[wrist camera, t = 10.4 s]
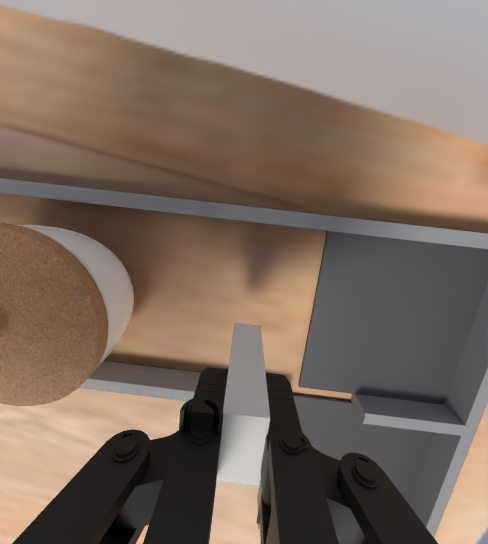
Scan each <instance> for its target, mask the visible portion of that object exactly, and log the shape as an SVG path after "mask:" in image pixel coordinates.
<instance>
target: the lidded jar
mask: <svg viewBox="0 0 488 544" xmlns="http://www.w3.org/2000/svg"><path fill="white" fill-rule="evenodd" d="M133 307H134V293H133V286H132V283H131V280H130V277H129V275H128V273H127V270H126V269H125V267H124V266H123V264H122V263H121V261H120V260H119V259H118V258H117V257H116V255H115V254H114V253H113V252H111V251H110V250H109V249H108V248H107V247H106V246H104V245H103V244H101V243H99V242H98V241H96V240H94V239H92V238H90V237H88V236H86V235H83V234H81V233H78V232H74V231H71V230H67V229H63V228H57V227H49V226H41V225H12V224H5V223H0V403H3V404H8V405H15V406H33V405H41V404H47V403H50V402H53V401H56V400H59V399H61V398H63V397H65V396H67V395H69V394H70V393H72V392H73V391H74V390H76V389H77V388H78V387H79V386H81V385H82V384H83V383H84V382H85V381H86V380H87V379H88V377H89V376H90V375H91V374H92V373H93V372H94V371H95V370H96V368H97V367H98V366H99V365H100V364H101V363H102V362H103V361H104V359H105V358H106V357H107V356H108V355H109V354H110V353H111V352H112V351H113V349H114V348H115V347H116V346H117V344H118V343H119V341H120V340H121V338H122V336H123V335H124V333H125V331H126V329H127V328H128V325H129V323H130V320H131V317H132V312H133Z"/></svg>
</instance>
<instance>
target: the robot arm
mask: <svg viewBox="0 0 488 544" xmlns="http://www.w3.org/2000/svg"><path fill="white" fill-rule="evenodd" d="M260 479H261V488H262V492H261V498H260V504H259V510H258V517H257V524H260V533H261V544H438V543H437V542H436V540H435V539H434V538H433V536H432V535H431V533H430V532H429V531H428V529H427V528H426V527H425V525H424V524H423V523H422V521H421V520H420V519H419V517H418V516H417V515H416V513H415V512H414V511H413V509H412V508H411V507H410V505H409V504H408V503H407V501H406V500H405V499H404V497H403V496H402V495H401V493H400V492H399V491H398V489H397V488H396V487H395V485H394V484H393V483H392V481H391V480H390V479H389V477H388V476H387V475H386V473H385V472H384V471H383V470H382V469H381V467H380V466H379V465H378V464H377V463H376V462H374V461H373V460H371V459H370V458H369V457H367V456H365V455H362V454H360V453H352V452H350V453H347V454H345V455H343V457H342V459H341V460H337V459H335V458H332V457H330V456H328V455H325V454H323V453H321V452H319V451H318V450H316V449H315V448H314V447H312V445H311V443H310V441H309V439H308V438H307V437H306V436H305V435H304V433H303V432H302V429H301V425H300V421H299V417H298V413H297V409H296V405H295V401H294V397H293V394H292V389H291V385H290V382H289V381H288V380H287V378H286V377H285V376H284V375H280V374H271V373H265V364H264V355H263V345H262V336H261V327H260V326H258V325H249V324H240V323H235V324H234V332H233V339H232V347H231V354H230V362H229V369H219V368H210V367H207V368H206V369H205V370H204V371H203V372H202V373H201V374H200V377H199V381H198V384H197V387H196V391H195V393H194V397H193V399H190V400H189V401H187V402H186V403H185V404H184V405H183V406H182V408H181V410H180V423H179V430H178V431H177V432H176V433H174V434H172V435H170V436H167V437H164V438H159V439H154V440H150V439H149V437H148V435H147V434H145V433H144V432H142V431H140V430H127V431H123V432H121V433H118V434H116V435H114V436H113V437H112V438H111V439H109V440H108V441H107V442H106V443H105V444H104V445H103V446H102V447H101V448H100V449H99V450H98V451H97V453H96V454H95V455H94V456H93V457H92V458H91V459H90V460H89V461H88V462H87V463H86V464H85V466H84V467H83V468H82V469H81V470H80V471H79V472H78V473H77V474H76V475H75V476H74V477H73V478H72V480H71V481H70V482H69V483H68V484H67V485H66V486H65V487H64V488H63V489H62V490H61V491H60V493H59V494H58V495H57V496H56V497H55V498H54V499H53V500H52V501H51V502H50V503H49V504H48V506H47V507H46V508H45V509H44V510H43V511H42V512H41V513H40V514H39V515H38V516H37V517H36V518H35V520H34V521H33V522H32V523H31V524H30V525H29V526H28V527H27V528H26V529H25V530H24V531H23V533H22V534H21V535H20V536H19V537H18V538H17V539H16V540H15V541H14V542H13V543H12V544H136V542H137V540H138V538H139V536H140V534H141V532H142V531H143V529H144V527H145V526H146V525H149V527H148V530H147V533H146V536H145V539H144V542H143V544H209V539H210V531H211V522H212V514H213V506H214V497H215V488H216V481H221V482H231V483H240V484H249V485H258V486H259V485H260Z"/></svg>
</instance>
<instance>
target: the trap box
mask: <svg viewBox="0 0 488 544" xmlns="http://www.w3.org/2000/svg"><path fill="white" fill-rule="evenodd" d="M0 193H4V194H12V195H21V196H30V197H39V198H47V199H56V200H65V201H73V202H82V203H91V204H100V205H108V206H117V207H126V208H134V209H143V210H152V211H161V212H169V213H178V214H187V215H195V216H204V217H213V218H221V219H230V220H239V221H248V222H256V223H265V224H274V225H282V226H291V227H300V228H309V229H317V230H326V231H327V235H326V240H325V246H324V251H323V256H322V262H321V267H320V272H319V278H318V283H317V288H316V294H315V299H314V304H313V310H312V315H311V320H310V326H309V331H308V336H307V342H306V347H305V353H304V358H303V363H302V369H301V374H300V379H299V387H303V388H312V389H320V390H328V391H336V392H344V393H352V394H353V395H352V399H351V401H348V400H340V399H332V398H324V397H316V396H308V395H300V394H293V397H294V401H295V405H296V409H297V413H298V417H299V421H300V425H301V429H302V432H303V433H304V435H305V436H306V437H307V438H308V439H309V441H310V443H311V445H312V447H314V448H315V449H316V450H318V451H319V452H321V453H323V454H325V455H328V456H330V457H332V458H335V459H337V460H341V459H342V457H343V455H345V454H347V453H350V452H352V453H360V454H362V455H365V456H367V457H369V458H370V459H371V460H373V461H374V462H376V463H377V464H378V465H379V466H380V467H381V469H382V470H383V471H384V472H385V473H386V475H387V476H388V477H389V479H390V480H391V481H392V483H393V484H394V485H395V487H396V488H397V489H398V491H399V492H400V493H401V495H402V496H403V497H404V499H405V500H406V501H407V503H408V504H409V505H410V507H411V508H412V509H413V511H414V512H415V513H416V515H417V516H418V517H419V519H420V520H421V521H422V523H423V524H424V525H425V527H426V528H427V529H428V531H429V532H430V533H431V535H432V536H433V538H434V536H435V534H436V531H437V529H438V526H439V524H440V521H441V519H442V516H443V514H444V511H445V508H446V506H447V503H448V501H449V498H450V496H451V493H452V491H453V488H454V486H455V483H456V481H457V478H458V476H459V473H460V471H461V468H462V466H463V463H464V461H465V458H466V456H467V453H468V451H469V448H470V446H471V443H472V441H473V438H474V436H475V433H476V431H477V428H478V426H479V423H480V421H481V418H482V416H483V413H484V410H485V408H486V405H487V403H488V234H487V233H478V232H469V231H460V230H451V229H443V228H434V227H425V226H416V225H408V224H399V223H390V222H381V221H373V220H364V219H355V218H346V217H337V216H329V215H320V214H311V213H302V212H294V211H285V210H276V209H267V208H258V207H250V206H241V205H232V204H223V203H215V202H206V201H197V200H188V199H179V198H171V197H162V196H153V195H144V194H136V193H127V192H118V191H109V190H101V189H92V188H83V187H74V186H65V185H57V184H48V183H39V182H30V181H22V180H13V179H4V178H0ZM200 374H201V373H200V372H192V371H184V370H176V369H167V368H159V367H151V366H143V365H135V364H127V363H119V362H111V361H103V362H102V363H101V364H100V365H99V366H98V367H97V368H96V370H95V371H94V372H93V373H92V374H91V375H90V376H89V377H88V379H87V380H86V381H85V382H84V383H83V384H82V385H81V386H79V387H78V388H84V389H92V390H100V391H108V392H116V393H124V394H131V395H139V396H147V397H155V398H163V399H171V400H179V401H189V400H190V399H193V397H194V393H195V391H196V387H197V384H198V381H199V377H200ZM261 492H262V488H261V481H260V487H259V493H258V510H259V504H260V498H261ZM258 529H260V524H258Z"/></svg>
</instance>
